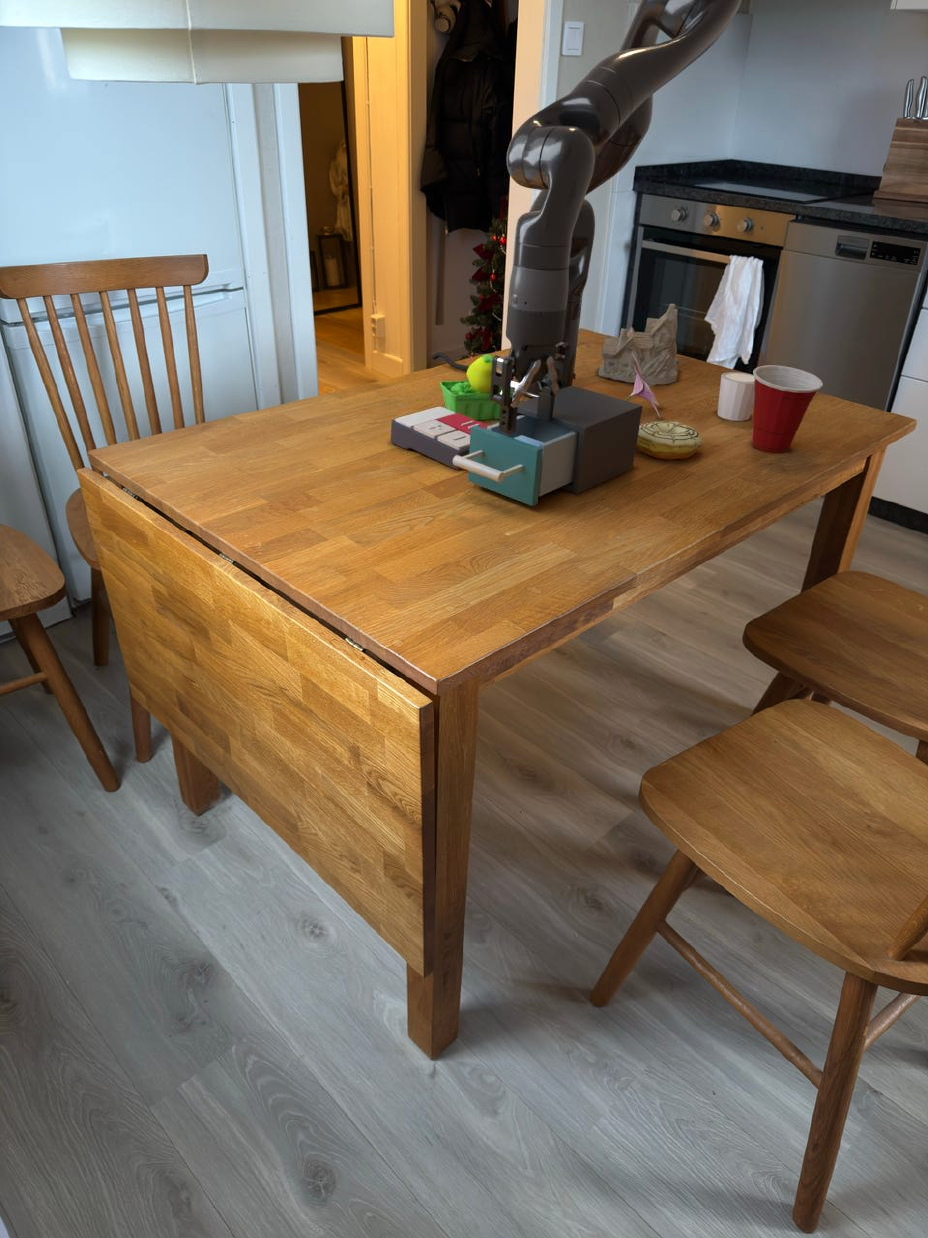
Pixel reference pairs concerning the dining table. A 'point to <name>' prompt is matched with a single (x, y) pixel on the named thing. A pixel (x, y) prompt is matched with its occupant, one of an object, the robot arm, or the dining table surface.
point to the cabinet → (594, 433)
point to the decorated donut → (668, 440)
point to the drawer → (521, 459)
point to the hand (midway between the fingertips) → (526, 425)
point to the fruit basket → (473, 392)
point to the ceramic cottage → (643, 352)
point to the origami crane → (643, 389)
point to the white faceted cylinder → (736, 396)
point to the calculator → (435, 434)
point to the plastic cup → (780, 405)
